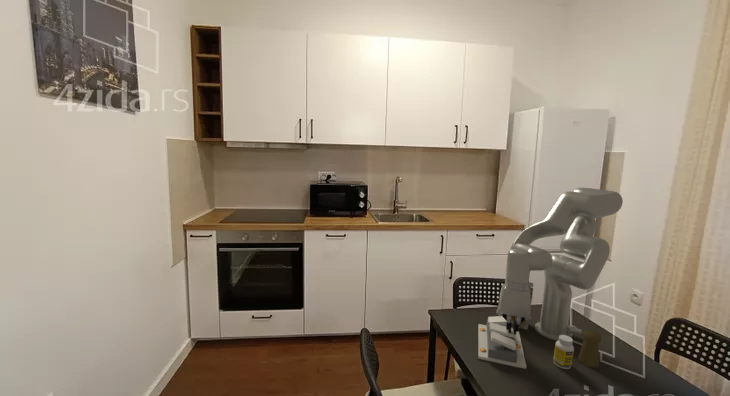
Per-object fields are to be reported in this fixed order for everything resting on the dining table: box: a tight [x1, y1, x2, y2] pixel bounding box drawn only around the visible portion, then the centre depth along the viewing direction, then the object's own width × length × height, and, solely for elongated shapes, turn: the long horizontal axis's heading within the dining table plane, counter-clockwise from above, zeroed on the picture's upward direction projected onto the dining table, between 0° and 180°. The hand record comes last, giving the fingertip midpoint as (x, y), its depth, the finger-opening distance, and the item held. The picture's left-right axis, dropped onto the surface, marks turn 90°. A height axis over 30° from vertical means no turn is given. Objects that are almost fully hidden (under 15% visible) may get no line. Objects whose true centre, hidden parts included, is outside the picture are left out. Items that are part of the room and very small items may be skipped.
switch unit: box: [477, 318, 527, 370], centre depth 122 cm, size 15×22×4 cm
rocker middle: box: [490, 323, 514, 338], centre depth 122 cm, size 8×4×2 cm, turn 72°
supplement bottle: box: [552, 335, 575, 370], centre depth 112 cm, size 5×5×10 cm
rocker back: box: [487, 315, 507, 325], centre depth 128 cm, size 8×4×2 cm, turn 71°
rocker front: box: [491, 331, 516, 351], centre depth 115 cm, size 8×4×2 cm, turn 72°
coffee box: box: [510, 287, 534, 331], centre depth 137 cm, size 9×6×16 cm
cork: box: [577, 329, 602, 368], centre depth 114 cm, size 6×6×11 cm
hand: (511, 331), depth 120 cm, fingers closed
